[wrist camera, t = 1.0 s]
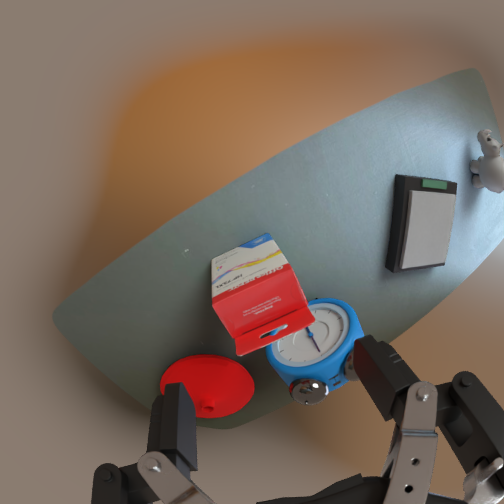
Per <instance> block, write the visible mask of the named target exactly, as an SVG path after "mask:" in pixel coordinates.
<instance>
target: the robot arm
mask: <svg viewBox="0 0 504 504" xmlns="http://www.w3.org/2000/svg"><path fill="white" fill-rule="evenodd" d="M353 367H354V370H355V372H356V374H357V376H358V377H359V379H360V381H361V382H362V384H363V385H364V387H365V389H366V390H367V392H368V393H369V395H370V396H371V398H372V400H373V402H374V403H375V405H376V406H377V408H378V410H379V411H380V413H381V414H382V416H383V418H384V420H385V421H388V420H390V419H392V418H393V419H394V420H395V422H396V424H395V427H394V431H393V436H392V440H391V444H390V448H389V452H388V455H387V459H386V461H385V464H384V466H383V469H382V472H381V475H380V477H377V476H375V477H374V476H370V477H362V476H361V474H357V475H355V476H352V477H349V478H347V479H344V480H341V481H338V482H336V483H334V484H332V485H331V486H329V487H327V488H325V489H324V490H322V491H320V492H318V493H316V494H315V495H312V496H307V497H285V498H278V499H273V500H268V501H263V502H257V503H256V504H497V503H498V502H499V501H500V500H501V499H503V498H504V411H503V409H502V408H501V406H500V405H499V404H498V403H497V402H496V400H495V399H494V398H493V396H492V395H491V394H490V393H489V392H488V391H487V389H486V388H485V386H483V384H482V383H481V382H480V380H479V379H478V378H477V377H476V376H475V375H474V374H473V373H471V372H468V371H463V372H459V373H457V374H456V375H455V376H454V378H453V380H452V382H448V383H444V384H440V385H433V384H431V383H429V382H426V381H420V380H419V378H418V377H417V376H416V375H415V374H414V372H413V371H412V370H411V369H410V367H409V366H408V365H407V364H406V363H405V361H404V360H402V358H401V357H400V356H399V354H397V352H396V351H395V350H394V348H393V347H392V346H391V345H389V344H387V343H385V342H384V341H381V342H377V341H376V340H375V339H374V338H373V336H372V335H367V336H364V337H361V338H358V339H356V340H355V341H354V353H353ZM150 422H151V423H150V427H149V435H148V445H147V451H146V453H145V454H144V455H142V456H141V458H140V459H139V461H138V462H137V463H135V464H132V465H128V466H124V467H120V468H118V467H117V466H115V465H114V464H111V463H105V464H102V465H100V466H99V467H98V468H97V469H96V470H95V473H94V479H93V488H92V500H91V504H153V502H155V501H159V500H161V501H162V502H163V503H164V504H216V503H215V502H214V501H213V500H212V499H210V497H208V496H207V495H206V494H205V493H204V492H203V491H202V490H201V489H200V488H199V487H198V486H197V485H195V483H194V482H193V481H192V480H191V479H190V471H197V470H198V468H197V445H196V410H195V406H194V403H193V400H192V399H191V397H190V395H189V393H188V391H187V390H186V388H185V386H184V384H183V383H182V382H177V383H170V384H166V385H165V390H164V395H162V396H157V398H156V399H155V401H154V403H153V404H152V411H151V419H150ZM437 426H439V428H440V430H441V431H442V433H443V435H444V436H445V438H446V440H447V441H448V443H449V445H450V446H451V448H452V450H453V451H454V453H455V455H456V456H457V458H458V460H459V461H460V463H461V465H462V467H463V469H464V471H465V473H466V474H467V475H466V477H465V479H464V482H463V490H464V491H465V497H464V500H459V499H455V498H450V497H446V496H442V495H438V494H434V493H431V492H428V491H429V487H430V482H431V477H432V473H433V468H434V462H435V456H436V450H437V442H438V434H437V433H435V427H437Z"/></svg>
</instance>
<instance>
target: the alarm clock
mask: <svg viewBox="0 0 504 504" xmlns="http://www.w3.org/2000/svg"><path fill="white" fill-rule="evenodd" d="M308 308H309V310H310V311H311V313H312V315H313V316H314V317H315V320H316V321H315V323H314V324H312V325H310V326H308V327H306V328H304V329H302V330H300V331H298V332H295V333H293V334H291V335H289V336H287V337H285V338H283V339H281V340H279V341H276V342H274V343H272V344H269V345H267V346H266V357H267V359H268V361H269V363H270V365H271V366H272V367H273V368H274V370H275V371H276V372H277V373H278V374H279V376H280V377H281V378H282V379H283V381H284V382H285V383H286V384H287V385H288V386H289V392H290V395H291V397H292V398H293V399H294V400H295V401H296V402H298V403H300V404H303V405H315V404H318V403H320V402H322V401H323V400H324V399H325V398H326V397H327V395H328V392H330V391H333V390H335V389H337V388H339V387H341V386H342V385H344V384H345V383H347V382H348V381H349V380H350V381H358V380H360V379H359V377H358V376H357V374H356V372H355V370H354V367H353V353H354V341H355V340H356V339H358V338H361V337H364V334H363V331H362V328H361V326H360V323H359V320H358V318H357V315H356V313H355V311H354V310H353V309H352V307H351V306H350V305H348V304H347V303H345V302H343V301H341V300H338V299H333V298H322V299H318V298H316V299H315V300H312V301H309V302H308ZM287 326H288V325H284V326H282V327H280V328H277V329H275V330H273V331H271V332H270V334H269V335H271V336H273V335H276V334H277V333H278V331H280V330H282V329H284V328H286V327H287Z"/></svg>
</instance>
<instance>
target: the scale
mask: <svg viewBox="0 0 504 504" xmlns="http://www.w3.org/2000/svg"><path fill="white" fill-rule="evenodd" d="M456 191H457V183H455V182H451V181H446V180H439V179H432V178H425V177H416V176H408V175H398V174H396V180H395V195H394V206H393V216H392V225H391V233H390V241H389V248H388V254H387V260H386V266H385V267H386V268H387V269H388V270H390V271H391V272H392V273H397V272H404V271H411V270H418V269H425V268H431V267H437V266H444V265H445V261H446V257H447V252H448V247H449V242H450V236H451V230H452V224H453V217H454V210H455V202H456Z"/></svg>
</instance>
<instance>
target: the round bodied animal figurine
mask: <svg viewBox="0 0 504 504" xmlns="http://www.w3.org/2000/svg"><path fill="white" fill-rule="evenodd" d="M489 132H491V131H490V130H488V129H486V130H484V131H483V130H482V131H480V132H479V133H478V135H477V138H478V141H479V142H480V144H481V149H482V152H483V154H484V156H480V157H479V159H478V161H477V160H472V161H471V163H470V169H471V171H472V172H473V173H478V174H479V175H475V176H473V179H472V183H473V186H474V187H475V188H478V189H479V188H483V187H486V188H487V189H488V190H490V191H492V192H496V193H501V192H502V191H503V190H504V159H503V158H502V157H500V155H499V154H500V148H501V147H502V146H503V145H504V144H503V143H501V144H499V143H498V142H497V141H496V139H493V138H491V137H490V135H489V134H488V133H489Z"/></svg>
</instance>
